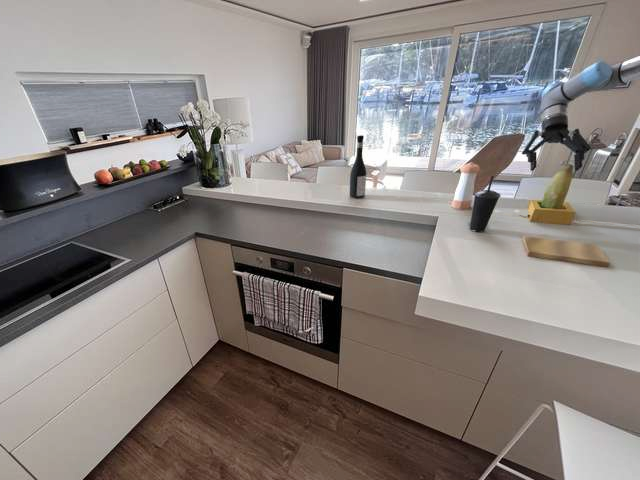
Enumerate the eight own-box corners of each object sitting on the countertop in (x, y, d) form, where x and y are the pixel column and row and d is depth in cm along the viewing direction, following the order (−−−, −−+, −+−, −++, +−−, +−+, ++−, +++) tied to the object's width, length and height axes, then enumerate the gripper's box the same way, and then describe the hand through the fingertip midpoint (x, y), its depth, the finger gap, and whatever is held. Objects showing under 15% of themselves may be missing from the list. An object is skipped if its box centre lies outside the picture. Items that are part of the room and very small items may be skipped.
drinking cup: (493, 233, 103) (511, 178, 93) (469, 233, 105) (485, 179, 95) (484, 225, 110) (500, 172, 100) (462, 225, 111) (475, 173, 101)
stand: (562, 214, 113) (567, 202, 110) (569, 225, 104) (575, 212, 102) (525, 211, 118) (530, 199, 116) (529, 221, 110) (534, 208, 107)
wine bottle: (367, 195, 152) (372, 134, 137) (359, 199, 148) (363, 137, 133) (354, 193, 158) (357, 134, 143) (346, 197, 153) (348, 136, 138)
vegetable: (560, 221, 108) (584, 166, 98) (539, 220, 110) (561, 166, 100) (552, 215, 113) (575, 162, 103) (533, 214, 115) (553, 163, 105)
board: (594, 248, 89) (596, 244, 88) (607, 267, 81) (610, 262, 80) (522, 240, 98) (523, 236, 97) (527, 256, 89) (528, 251, 88)
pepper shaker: (448, 204, 131) (457, 161, 122) (463, 203, 131) (474, 159, 122) (457, 210, 125) (468, 164, 116) (473, 208, 125) (486, 163, 116)
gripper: (588, 126, 112) (591, 174, 108) (512, 129, 121) (511, 174, 116) (602, 111, 105) (606, 162, 101) (520, 116, 114) (520, 163, 109)
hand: (555, 168), depth 109 cm, fingers open, 13 cm apart
